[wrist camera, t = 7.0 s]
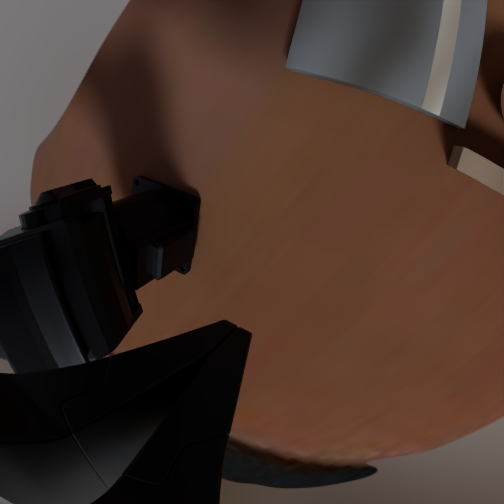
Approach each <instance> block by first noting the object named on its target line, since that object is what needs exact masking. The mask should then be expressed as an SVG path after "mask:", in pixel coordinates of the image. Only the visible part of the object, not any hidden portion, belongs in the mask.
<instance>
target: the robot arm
mask: <svg viewBox="0 0 504 504" xmlns="http://www.w3.org/2000/svg"><path fill="white" fill-rule="evenodd" d="M139 183H140V184H139ZM111 194H112V191H111V186H110V185H109V186H105V187H101V186H100V185H97V184H96V183H95V182H94V181H93V180H92V179H87V180H84V181H80V182H77V183H73V184H70V185H66V186H63V187H59V188H56V189H52V190H49V191H46V192H43V193H40V195H39V197H38V199H37V201H36V203H35V205H33V206H31V207H29V211H26V212H24V213H22V214H20V215H19V218H20V223H21V226H18V227H15V228H13V229H10V230H8V231H6V232H5V233H4V234H2V235H1V236H0V358H1V359H4V360H7V361H8V362H9V364H10V366H11V368H12V369H13V371H14V373H15V374H7V373H0V504H220V489H221V480H222V470H223V464H224V459H225V454H226V449H227V445H228V440H229V434H230V431H231V427H232V423H233V418H234V414H235V410H236V405H237V401H238V396H239V392H240V388H241V383H242V379H243V374H244V370H245V365H246V361H247V356H248V352H249V347H250V342H251V338H252V333H251V332H249V331H247V330H245V329H243V328H241V327H239V328H238V327H237V325H235V324H233V323H231V322H229V321H227V320H221V321H218V322H215V323H213V324H210V325H207V326H204V327H201V328H198V329H195V330H192V331H189V332H186V333H183V334H180V335H177V336H174V337H171V338H168V339H165V340H161V341H158V342H155V343H152V344H149V345H146V346H142V347H139V348H136V349H133V350H129V351H126V352H123V353H119V354H116V355H112V356H111V357H105V356H107V355H108V354H110V353H111V352H112V351H114V350H115V349H116V348H117V346H118V345H119V344H120V342H121V341H122V340H123V338H124V337H125V335H126V334H127V333H128V331H129V330H130V329H131V327H132V326H133V324H134V323H135V322H136V320H137V319H138V318H139V316H140V315H141V314H142V312H143V310H142V306H141V304H140V303H139V301H138V298H137V295H136V292H135V290H138V289H139V288H141V287H142V286H144V285H145V284H147V283H148V282H150V281H152V280H153V279H156V280H160V279H162V278H163V277H165V276H166V275H168V274H169V273H171V272H172V271H174V270H176V271H177V272H179V273H181V274H186V273H188V272H189V271H190V268H191V261H192V258H193V256H194V250H195V243H196V237H197V222H198V216H199V209H200V200H199V198H198V197H196V196H194V195H191V194H189V193H186V192H183V191H181V190H178V189H175V188H173V187H170V186H167V185H165V184H162V183H159V182H156V181H154V180H151V179H148V178H145V177H143V176H137V177H135V178H134V180H133V189H132V196H129V197H126V198H123V199H120V200H117V201H114V202H112V198H111ZM192 201H193V202H194V206H193V205H192ZM183 266H184V268H185V269H184V268H183ZM103 357H105V358H103ZM101 358H102V359H101Z"/></svg>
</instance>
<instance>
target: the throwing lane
mask: <svg viewBox="0 0 504 504" xmlns="http://www.w3.org/2000/svg"><path fill="white" fill-rule="evenodd" d="M486 9H487V0H303V1H302V5H301V8H300V12H299V16H298V20H297V24H296V27H295V31H294V35H293V39H292V43H291V47H290V50H289V54H288V58H287V62H286V66H285V67H286V68H288V69H289V70H291V71H293V72H296V73H301V74H305V75H309V76H313V77H317V78H321V79H325V80H329V81H333V82H336V83H340V84H343V85H347V86H350V87H354V88H357V89H360V90H363V91H366V92H369V93H372V94H375V95H378V96H381V97H384V98H387V99H389V100H392V101H395V102H397V103H400V104H403V105H405V106H408V107H410V108H413V109H415V110H418V111H420V112H422V113H425V114H427V115H429V116H432V117H434V118H436V119H438V120H441V121H443V122H445V123H447V124H449V125H451V126H453V127H455V128H457V129H465V126H466V122H467V118H468V114H469V111H470V107H471V103H472V98H473V94H474V89H475V85H476V80H477V75H478V70H479V64H480V58H481V52H482V46H483V38H484V30H485V21H486ZM447 165H449V166H451V167H453V168H455V169H457V170H459V171H461V172H463V173H465V174H467V175H469V176H470V177H472V178H474V179H476V180H478V181H480V182H481V183H483V184H485V185H487V186H489V187H490V188H492V189H494V190H496V191H497V192H499V193H501V194H502V195H504V169H503V168H501V167H499V166H498V165H496V164H494V163H493V162H491V161H489V160H487V159H486V158H484V157H482V156H480V155H478V154H477V153H475V152H473V151H471V150H469V149H467V148H465V147H462V146H456V145H454V146H453V149H452V152H451V155H450V158H449V161H448V164H447Z"/></svg>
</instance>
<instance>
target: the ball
mask: <svg viewBox="0 0 504 504" xmlns="http://www.w3.org/2000/svg"><path fill="white" fill-rule="evenodd" d="M501 110H502V115H503V119H504V85H503V88H502V92H501Z"/></svg>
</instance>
